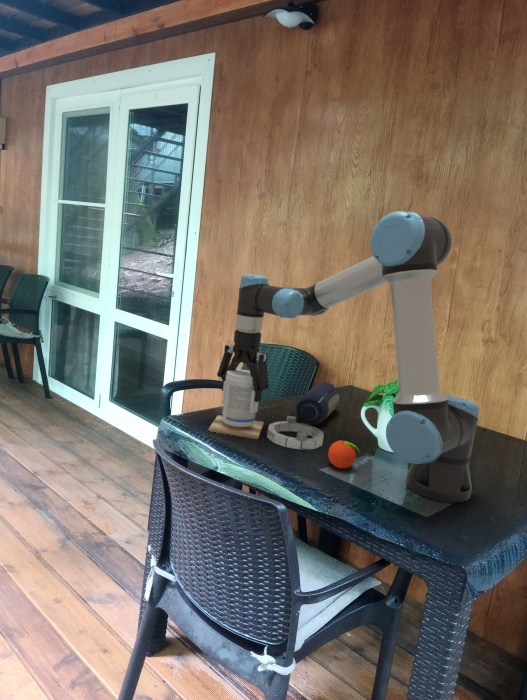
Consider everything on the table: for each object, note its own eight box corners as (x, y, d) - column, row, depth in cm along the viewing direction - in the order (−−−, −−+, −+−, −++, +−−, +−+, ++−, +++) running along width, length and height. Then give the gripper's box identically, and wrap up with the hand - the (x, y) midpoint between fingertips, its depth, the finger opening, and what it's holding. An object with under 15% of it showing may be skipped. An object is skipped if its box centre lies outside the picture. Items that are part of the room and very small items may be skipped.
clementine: (360, 467, 146) (364, 440, 145) (355, 476, 140) (359, 449, 138) (329, 459, 148) (333, 433, 147) (323, 468, 142) (327, 441, 141)
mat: (257, 439, 157) (257, 437, 157) (207, 431, 158) (208, 429, 158) (263, 424, 171) (263, 422, 170) (217, 416, 172) (217, 415, 172)
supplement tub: (260, 426, 163) (267, 376, 161) (234, 430, 157) (240, 378, 155) (240, 415, 171) (246, 368, 168) (214, 419, 165) (219, 369, 162)
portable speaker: (322, 431, 171) (327, 399, 169) (290, 424, 174) (295, 392, 172) (340, 411, 194) (344, 383, 193) (312, 405, 198) (316, 377, 196)
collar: (321, 453, 152) (323, 439, 151) (264, 444, 153) (266, 430, 153) (322, 434, 168) (324, 421, 167) (270, 425, 170) (272, 413, 169)
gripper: (288, 337, 156) (278, 415, 160) (226, 322, 168) (218, 395, 173) (272, 339, 150) (262, 420, 154) (209, 323, 162) (201, 399, 166)
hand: (239, 407), depth 163 cm, fingers closed on supplement tub, 9 cm apart
